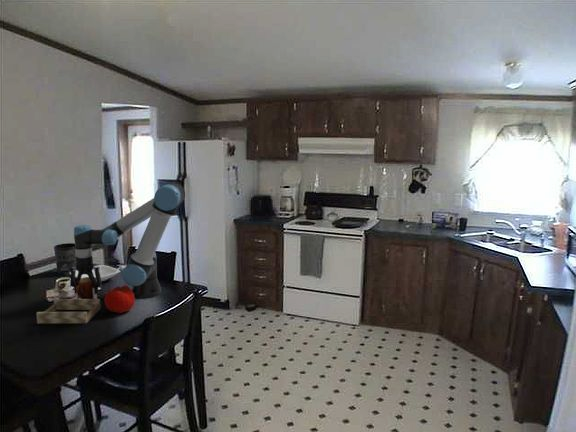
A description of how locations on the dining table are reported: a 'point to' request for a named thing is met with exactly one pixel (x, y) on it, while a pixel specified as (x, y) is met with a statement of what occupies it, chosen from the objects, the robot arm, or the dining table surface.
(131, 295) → the tomato
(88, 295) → the mug
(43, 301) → the dining table surface
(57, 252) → the planter
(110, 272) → the bowl
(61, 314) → the tan wooden shallow box
